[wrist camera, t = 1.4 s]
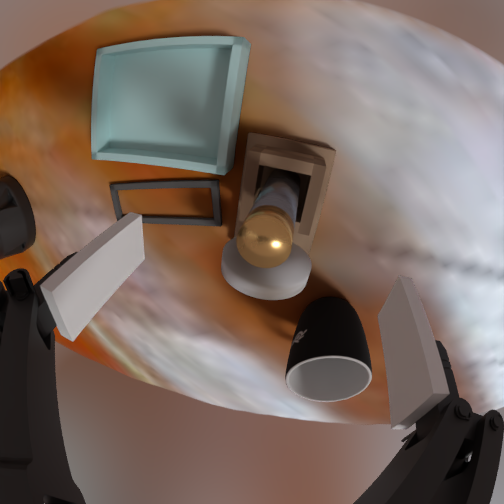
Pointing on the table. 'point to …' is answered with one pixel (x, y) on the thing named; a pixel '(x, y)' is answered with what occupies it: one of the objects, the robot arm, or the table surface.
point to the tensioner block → (308, 213)
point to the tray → (170, 102)
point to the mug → (328, 353)
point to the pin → (271, 221)
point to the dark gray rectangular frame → (173, 184)
